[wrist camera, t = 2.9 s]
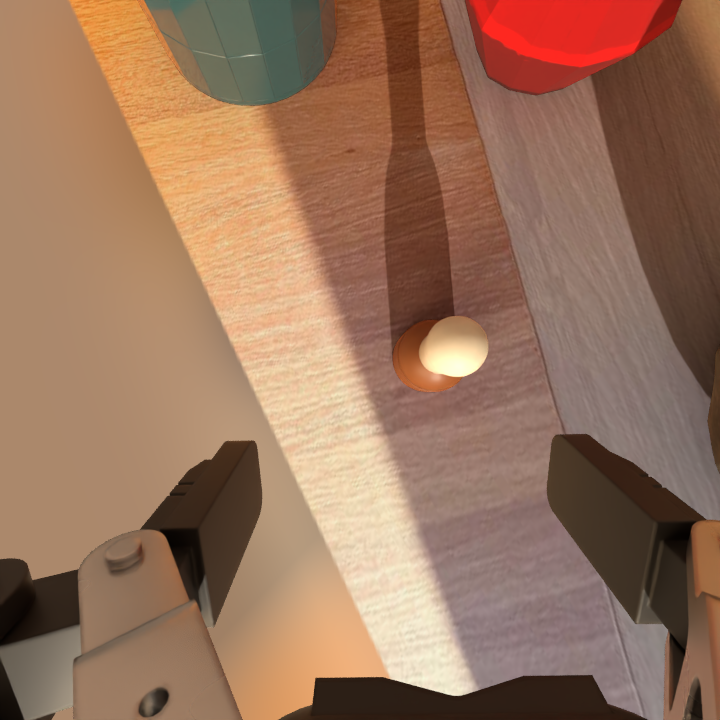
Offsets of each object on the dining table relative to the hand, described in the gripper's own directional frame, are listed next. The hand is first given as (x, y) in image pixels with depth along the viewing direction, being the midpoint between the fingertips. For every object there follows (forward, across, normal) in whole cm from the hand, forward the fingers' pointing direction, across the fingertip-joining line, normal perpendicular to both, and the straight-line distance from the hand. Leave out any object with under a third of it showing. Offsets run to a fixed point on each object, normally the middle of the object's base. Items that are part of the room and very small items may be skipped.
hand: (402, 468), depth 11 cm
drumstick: (+20, -4, +2) cm, 21 cm away
